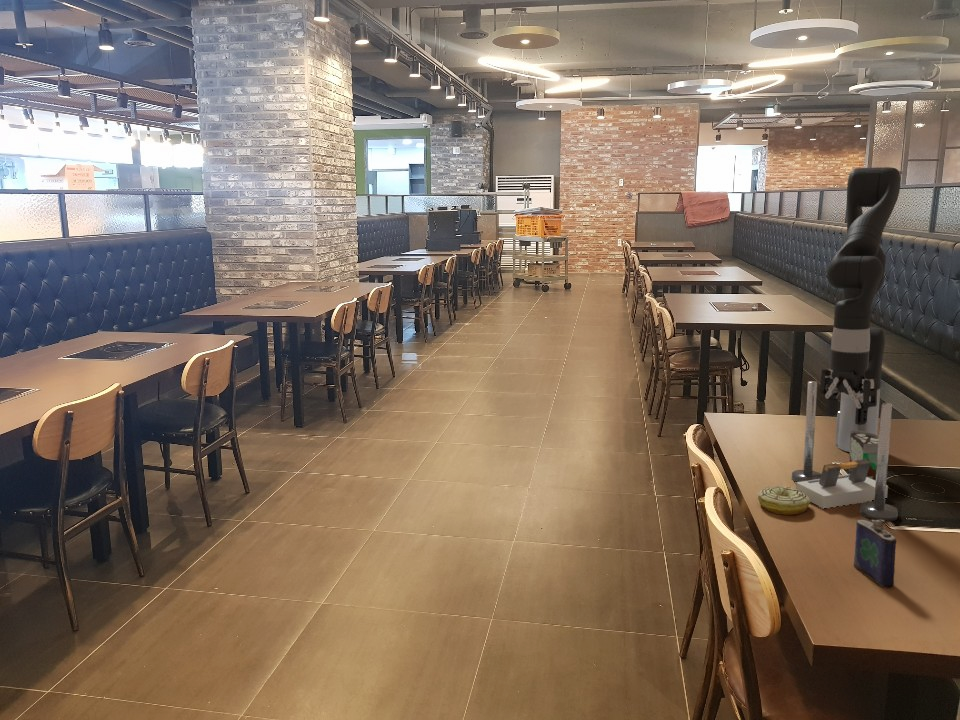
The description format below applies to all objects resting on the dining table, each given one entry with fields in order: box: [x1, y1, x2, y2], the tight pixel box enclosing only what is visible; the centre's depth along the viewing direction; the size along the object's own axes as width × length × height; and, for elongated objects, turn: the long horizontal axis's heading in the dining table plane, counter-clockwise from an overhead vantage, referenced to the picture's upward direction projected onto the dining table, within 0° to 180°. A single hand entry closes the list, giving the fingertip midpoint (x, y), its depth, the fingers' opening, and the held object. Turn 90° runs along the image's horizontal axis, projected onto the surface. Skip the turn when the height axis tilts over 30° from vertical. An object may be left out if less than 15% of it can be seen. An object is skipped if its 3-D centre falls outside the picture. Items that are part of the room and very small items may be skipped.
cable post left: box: [791, 380, 822, 483], centre depth 175 cm, size 7×7×24 cm
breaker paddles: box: [819, 459, 871, 488], centre depth 165 cm, size 2×11×5 cm, turn 106°
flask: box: [853, 519, 897, 590], centre depth 131 cm, size 9×3×11 cm, turn 8°
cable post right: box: [859, 402, 899, 523], centre depth 155 cm, size 7×7×24 cm
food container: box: [848, 430, 879, 481], centre depth 178 cm, size 12×6×10 cm, turn 168°
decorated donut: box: [757, 485, 811, 516], centre depth 163 cm, size 10×11×4 cm
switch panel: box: [795, 473, 889, 510], centre depth 167 cm, size 9×17×3 cm, turn 106°
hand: (845, 419), depth 164 cm, fingers open, 8 cm apart
